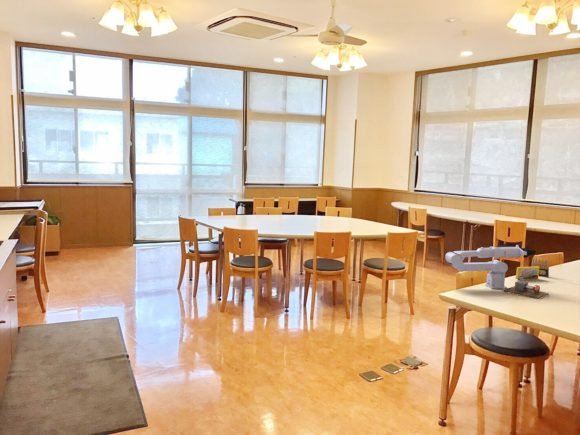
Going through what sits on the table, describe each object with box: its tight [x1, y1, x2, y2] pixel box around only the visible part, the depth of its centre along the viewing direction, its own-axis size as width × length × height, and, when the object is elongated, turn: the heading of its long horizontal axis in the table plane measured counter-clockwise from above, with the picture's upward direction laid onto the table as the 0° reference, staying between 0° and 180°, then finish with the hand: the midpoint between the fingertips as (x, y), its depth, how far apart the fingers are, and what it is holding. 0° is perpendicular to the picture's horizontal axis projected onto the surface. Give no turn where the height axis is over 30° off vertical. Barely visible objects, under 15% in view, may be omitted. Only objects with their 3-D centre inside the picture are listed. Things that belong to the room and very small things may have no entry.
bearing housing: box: [514, 280, 529, 292], centre depth 271 cm, size 4×7×5 cm, turn 131°
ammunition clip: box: [530, 256, 550, 278], centre depth 313 cm, size 11×2×12 cm, turn 49°
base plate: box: [503, 285, 549, 300], centre depth 269 cm, size 19×14×1 cm
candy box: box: [515, 266, 540, 280], centre depth 302 cm, size 16×2×8 cm, turn 105°
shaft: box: [524, 284, 541, 293], centre depth 268 cm, size 10×4×4 cm, turn 41°
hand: (531, 251), depth 281 cm, fingers open, 7 cm apart
